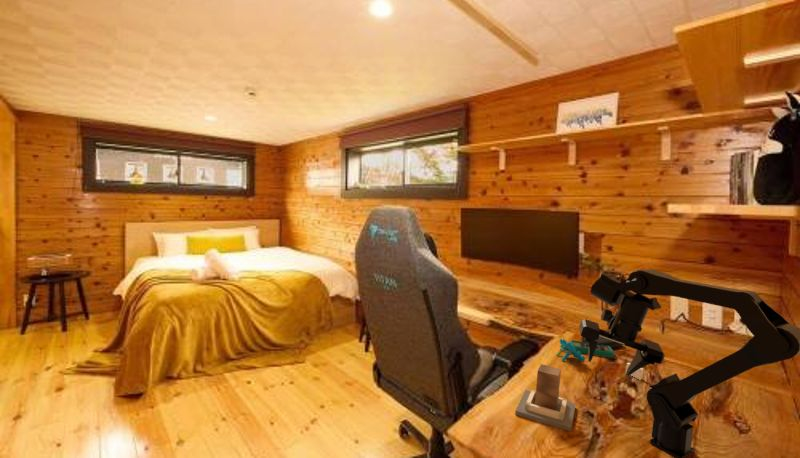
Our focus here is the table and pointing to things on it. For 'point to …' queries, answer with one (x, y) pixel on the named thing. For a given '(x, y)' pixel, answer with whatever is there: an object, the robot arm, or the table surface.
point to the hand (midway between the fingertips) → (607, 367)
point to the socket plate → (546, 411)
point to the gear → (569, 351)
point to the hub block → (547, 387)
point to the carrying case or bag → (605, 342)
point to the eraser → (636, 372)
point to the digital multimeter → (599, 351)
